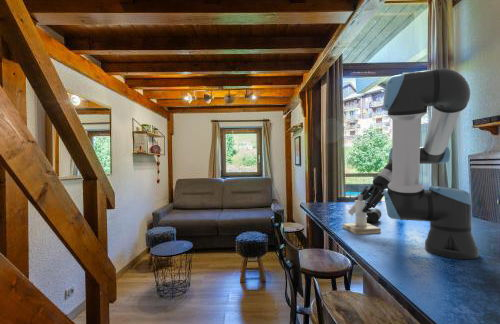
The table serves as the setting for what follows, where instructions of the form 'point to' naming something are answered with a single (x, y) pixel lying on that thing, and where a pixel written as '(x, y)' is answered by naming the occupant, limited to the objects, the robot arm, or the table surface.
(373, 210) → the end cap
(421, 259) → the table surface
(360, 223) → the white bottle
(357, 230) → the oak board
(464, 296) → the table surface
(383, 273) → the table surface
